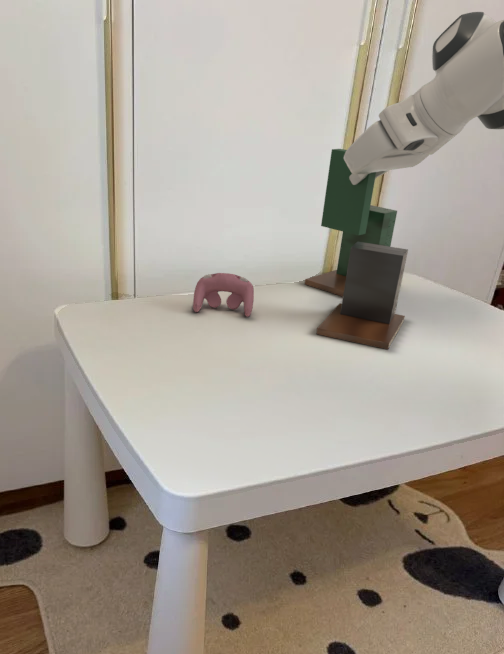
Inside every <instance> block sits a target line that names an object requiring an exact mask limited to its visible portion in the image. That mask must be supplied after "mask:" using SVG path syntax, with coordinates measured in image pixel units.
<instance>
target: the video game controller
mask: <svg viewBox="0 0 504 654" xmlns="http://www.w3.org/2000/svg"><path fill="white" fill-rule="evenodd" d="M219 292H224V293H225V292H226V293H231V294H229V295H228V297H227V298H226V303H225V304H226V305H227V307H228V308H229V309H230V310H232V311H233V310H237V309H239V307H240V306H241V305H242V303H243V311H244V312H243V313H244V316H245V317H250V316H251V315H252V312H253V308H254V301H255V299H254V298H255V291H254V285H253V284H252V282H251V281H250V280H248V279H247V278H246V277H245V276H240V275H237V274H234V273H228V272H215V273H211V274H209V273H208V274H205V275H204V276H201V277H200V279H199V280H198V281H197V282H196V285H195V287H194V291H193V299H192V300H193V302H192V308H193V311H194V313H198V312H199V311H200V310H201V309H202V306H203V304H204V300H206V301H207V304H208V306H209V307H211V308H212V309H213V308H214V309H215V308H219V307H220V306H221V304H222V298H221V295H220V294H219Z"/></svg>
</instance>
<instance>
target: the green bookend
mask: <svg viewBox="0 0 504 654" xmlns="http://www.w3.org/2000/svg"><path fill="white" fill-rule="evenodd" d="M397 214H398V210H395V209H391V208H387V207H382V206H378V205H373V204H371V205H370V211H369V216H368V222H367V228H366V233H365V234H363V235H355V234H351V233H347V232H343V231H342V233H341V241H340V246H339V254H338V259H337V260H338V261H337V266H336V269H335V270H331V271H328V272H325V273H321V274H318V275H314V276H312V277H311V276H310V277H307V278H305V279H304V285H306V286H309V287H312V288H316V289H318V290H321V291H325V292H327V293H331V294H333V295H337V296H340V297H343V294H344V287H345V281H346V275H347V269H348V263H349V257H350V251H351V247H352V246H353V245H354V244H356V243H357V242H364V243H370V244H376V245H383V246H389V247H392V241H393V235H394V230H395V225H396V220H397Z"/></svg>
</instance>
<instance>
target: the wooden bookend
mask: <svg viewBox="0 0 504 654" xmlns="http://www.w3.org/2000/svg"><path fill="white" fill-rule="evenodd" d="M408 254H409V249H407V248H402V247H395V246H390V247H389V246H383V245H376V244H370V243H364V242H357V243H356V244H354V245H353V246H352V247H351V251H350V257H349V263H348V269H347V275H346V281H345V287H344V294H343V296H342V300H341V303H340V302H339V303H338V304H337V305H336V307H334V309H333V310H332V311H330V313H329V314H328V315H327V317H326V318H325V319H324V320H323V321H322V322H321V323H320V324H319V325H318V327H317V328H316V335H320V336H323V337H328V338H333V339H337V340H342V341H347V342H352V343H355V344H361V345H364V346H365V345H367V346H371V347H375V348H379V349H383V350H389V348H390V347H391V345H392V343H393V341H394V340H395V338H396V336H397V334H398V332H399V331H400V329H401V327H402V325H403V324H404V322H405V318H406V316H405V315H402V314H398V313H396V310H397V306H398V302H399V301H398V300H399V298H400V297H399V296H400V291H401V286H402V281H403V277H404V271H405V267H406V263H407V262H406V261H407V258H408Z"/></svg>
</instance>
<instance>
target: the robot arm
mask: <svg viewBox="0 0 504 654" xmlns="http://www.w3.org/2000/svg"><path fill="white" fill-rule="evenodd" d="M431 58H432V61H431V62H432V70H433V71H434V72H435V76H434V77H433V79H431V81H429V82H427V83H425V84H424V85H422V86H421V87H420V88H419V89H418V90H417V91H416V92H415V93H413V94H410V95H409V96H408V97H407V98H405V99H403V100H401V101H398V102H395V103H393V104H390V105H388V106H386V107H385V108H384V109H382V110H381V112H380V113H379V114H378V118H379V120H377V121H375V122H373V123H372V124H371V125H370V126H369V127H367V128H366V129H365V130H364V132H363V133H362V134H361V135H360V136H358V137H357V139H355V140H354V142H353V143H352V144H350V146H349V147H348V148H347V149H346V150H347V151H346V152H345V155H344V160H345V162H346V164H347V166H348V168H349V169H350V171H351V173H352V174H351V175H350V177H349V179H350V181H351V182H352V184H353V185H357V184H360V183H361V182H363V181H364V180H365V179H366V178H365V177H366V176H367V175H368V174H370V173H372V172H376V176H375V180H376V179H377V178H379V177H381V176H382V175H384V174H386V173H388V172H390V171H393V170H400V169H408V168H413V167H416V166H418V165H419V164H420V163H423V161H424V160H426V159H427V158H428V157H429V156H431V155H433V154H435V153H436V152H438V151H439V150H440V149H441V148H442V147H444V146H445V145H446V144H448V143H449V142H450V141H451V140H452V139H454V138H455V137H456V136H457V135H459V134H460V133H461V132H462V131H463V129H464V128H465V127H466V125H467V124H468V123H469V122H470V121H472V120H473V119H475V118H478V120H479V121H480V122H481V124H482V125H483V126H484V127H485V128H486V129H488V130H504V19H501V20H498V21H495V20H494V19H493V18H492V17H490V16H489V15H488V14H486V13H485V12H483V11H472V12H466V13H463V14H461V15H459V16H458V17H457V18H456V19H455V20H454V21H453V22H452V23H451V24H449V26H448V27H446V29H445V30H444V31H443V32H442V33H441V34H440V35H439V36H438V37H437V38H436V39H435V41H434V42H433V45H432V54H431Z"/></svg>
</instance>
